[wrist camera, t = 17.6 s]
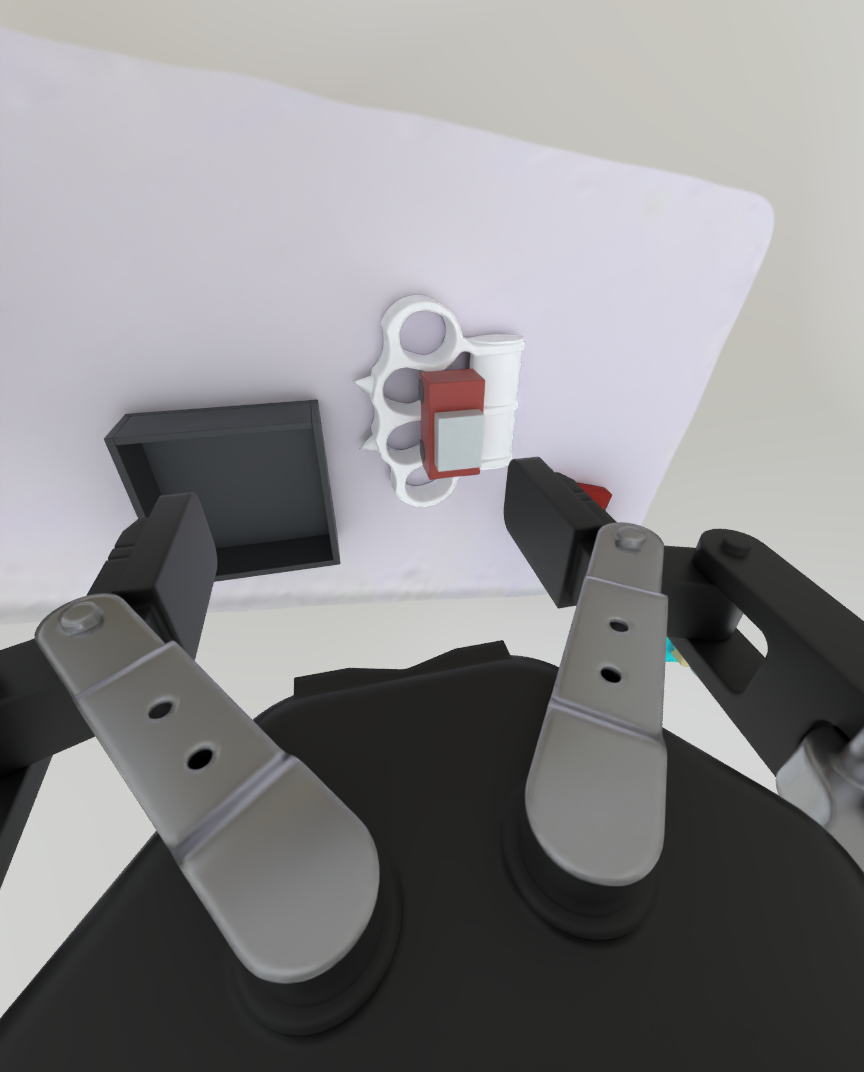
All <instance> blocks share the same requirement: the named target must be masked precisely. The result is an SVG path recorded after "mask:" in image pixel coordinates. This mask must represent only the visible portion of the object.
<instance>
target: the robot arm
mask: <svg viewBox="0 0 864 1072" xmlns="http://www.w3.org/2000/svg"><path fill="white" fill-rule="evenodd" d="M504 520H505V525H506V528H507V530H508V532H509V533H510V535H511V536H512V538H513V540H514V541H515V543H516V544H517V546H518V547H519V549H520V550H521V552H522V553H523V555H524V557H525V558H526V560H527V561H528V563H529V564H530V566H531V567H532V569H533V570H534V572H535V574H536V575H537V577H538V578H539V580H540V581H541V583H542V584H543V586H544V588H545V589H546V591H547V592H548V594H549V595H550V597H551V598H552V600H553V601H554V603H555V605H556V606H557V608H564V607H570V606H576V610H575V614H574V617H573V621H572V624H571V628H570V631H569V635H568V639H567V642H566V646H565V650H564V653H563V656H562V660H561V664H560V667H557V666H555V665H552V664H550V663H547V662H544V661H541V660H538V659H534V658H529V657H523V656H515V655H514V656H513V655H510V654H509V652H508V650H507V647H506V645H505V643H504V641H503V640H501V641H495V642H490V643H484V644H479V645H473V646H468V647H463V648H457V649H454V650H451V651H449V652H446V653H444V654H441V655H439V656H437V657H434V658H432V659H430V660H427V661H425V662H422V663H420V664H418V665H415V666H413V667H410V668H407V669H368V668H346V669H340V670H335V671H329V672H324V673H318V674H312V675H307V676H302V677H296V678H294V695H293V696H291V697H288V698H286V699H284V700H282V701H280V702H278V703H277V704H275V705H273V706H271V707H270V708H268V709H267V710H265V711H264V712H262V713H261V714H259V715H258V716H257V717H256V718H254V719H253V720H252V719H251V718H250V717H249V716H248V715H247V714H246V713H245V712H244V711H243V710H242V709H241V708H240V707H239V706H238V705H237V704H236V703H235V702H234V701H233V700H232V699H231V698H230V697H229V696H228V695H227V694H226V693H225V692H224V690H222V688H221V687H219V685H218V684H217V683H215V681H214V680H213V679H212V678H211V677H210V676H209V675H208V674H207V673H206V672H205V671H204V670H203V669H202V668H201V667H200V666H199V665H198V664H197V663H196V662H195V658H196V653H197V649H198V645H199V641H200V637H201V633H202V629H203V624H204V620H205V616H206V612H207V608H208V604H209V600H210V595H211V591H212V587H213V583H214V579H215V575H216V570H217V553H216V548H215V544H214V541H213V538H212V535H211V532H210V529H209V526H208V523H207V520H206V517H205V514H204V511H203V508H202V505H201V502H200V500H199V498H198V496H197V494H196V493H194V492H192V493H182V494H173V495H163V496H160V497H159V498H158V500H157V502H156V504H155V506H154V508H153V510H152V512H151V514H150V515H149V517H148V518H140V519H138V520H137V521H135V522H134V523H133V524H132V525H130V526H129V527H128V528H127V529H125V530H124V531H123V532H122V534H121V535H120V537H119V539H118V541H117V542H116V544H115V549H113V550H112V551H111V553H110V555H109V557H108V561H106V562H105V564H104V565H103V567H102V569H101V571H100V573H99V574H98V576H97V578H96V580H95V581H94V583H93V585H92V587H91V588H90V590H89V592H88V594H87V596H85V597H81V598H78V599H75V600H73V601H71V602H68V603H66V604H64V605H62V606H61V607H59V608H57V609H56V610H54V611H53V612H52V613H50V614H49V615H48V616H47V617H46V618H44V619H43V621H42V622H41V623H40V624H39V626H38V627H37V629H36V632H35V638H34V639H32V640H29V641H26V642H24V643H20V644H17V645H14V646H12V647H9V648H6V649H3V650H0V888H1V886H2V883H3V881H4V878H5V875H6V873H7V870H8V868H9V865H10V863H11V860H12V857H13V855H14V853H15V850H16V847H17V845H18V842H19V840H20V837H21V835H22V832H23V829H24V827H25V825H26V822H27V819H28V817H29V814H30V812H31V809H32V806H33V804H34V802H35V799H36V797H37V794H38V791H39V788H40V786H41V784H42V781H43V779H44V776H45V774H46V771H47V769H48V766H49V763H50V761H51V758H52V756H53V754H56V753H58V752H60V751H63V750H65V749H67V748H70V747H72V746H74V745H77V744H79V743H81V742H84V741H86V740H88V739H90V738H93V737H95V736H96V738H97V739H98V741H99V742H100V744H101V745H102V747H103V748H104V750H105V752H106V753H107V755H108V756H109V758H110V759H111V761H112V762H113V764H114V765H115V767H116V768H117V770H118V771H119V773H120V775H121V776H122V778H123V779H124V781H125V782H126V784H127V785H128V787H129V789H130V790H131V792H132V793H133V795H134V796H135V798H136V799H137V801H138V802H139V804H140V805H141V807H142V809H143V810H144V811H145V813H146V815H147V816H148V818H149V819H150V821H151V822H152V824H153V825H154V827H155V828H156V830H157V831H156V832H155V833H154V834H153V835H152V836H151V838H150V839H149V840H148V841H147V842H146V844H145V845H144V846H143V847H142V848H141V850H140V851H139V852H138V853H137V855H136V856H135V857H134V858H133V859H132V860H131V862H130V863H129V864H128V865H127V867H126V868H125V869H124V870H123V871H122V873H121V874H120V875H119V876H118V877H117V879H116V880H115V881H114V882H113V883H112V885H111V886H110V887H109V888H108V889H107V891H106V892H105V893H104V894H103V895H102V897H101V898H100V899H99V900H98V901H97V903H96V904H95V905H94V906H93V908H92V909H91V910H90V911H89V912H88V913H87V915H86V916H85V917H84V918H83V919H82V921H81V922H80V923H79V924H78V925H77V927H76V928H75V929H74V931H72V933H71V934H70V935H69V937H68V938H67V939H66V940H65V941H64V942H63V944H62V945H61V946H60V947H59V948H58V949H57V951H56V952H55V953H54V954H53V955H52V957H51V958H50V959H49V960H48V961H47V963H46V964H45V965H44V966H43V967H42V969H41V970H40V971H39V972H38V974H37V975H36V976H35V977H34V978H33V980H32V981H31V982H30V983H29V985H27V987H26V988H25V989H24V990H23V991H22V993H21V994H20V995H19V996H18V997H17V999H16V1000H15V1001H14V1002H13V1003H12V1005H11V1006H10V1007H9V1008H8V1010H7V1011H6V1012H5V1013H4V1014H3V1016H2V1017H1V1018H0V1072H864V621H863V620H861V619H860V618H859V617H858V616H856V615H855V614H854V613H852V612H851V611H850V610H849V609H847V608H846V607H845V606H843V605H842V604H841V603H840V602H838V601H837V600H836V599H834V598H833V597H832V596H831V595H829V594H828V593H827V592H825V591H824V590H823V589H821V588H820V587H819V586H818V585H816V584H815V583H814V582H813V581H811V580H810V579H809V578H807V577H806V576H805V575H804V574H802V573H801V572H800V571H798V570H797V569H796V568H794V567H793V566H792V565H791V564H789V563H788V562H787V561H786V560H784V559H783V558H782V557H780V556H779V555H778V554H776V553H775V552H774V551H773V550H771V549H770V548H769V547H768V546H766V545H765V544H764V543H762V542H760V541H759V540H758V539H756V538H754V537H752V536H750V535H747V534H744V533H741V532H738V531H734V530H728V529H712V530H708V531H705V532H704V533H703V534H702V535H701V537H700V539H699V542H698V544H697V547H696V548H689V547H675V546H664V543H663V541H662V540H661V538H660V537H659V536H658V535H657V534H655V533H654V532H652V531H651V530H649V529H647V528H645V527H642V526H639V525H635V524H631V523H622V522H620V523H617V522H616V521H615V520H614V519H613V518H612V517H611V516H610V515H609V514H608V513H607V512H606V511H605V510H604V509H603V508H602V507H601V506H600V505H599V504H598V503H597V502H596V501H595V500H592V497H591V496H590V495H589V494H588V493H587V492H584V489H582V488H581V487H580V486H579V485H578V484H577V483H576V482H575V481H574V480H573V479H571V478H569V477H567V476H565V475H563V474H561V473H559V472H554V471H553V470H552V469H551V468H550V467H549V466H548V465H547V464H546V463H545V462H544V461H543V460H542V459H541V458H540V457H531V458H522V459H513V460H511V461H510V463H509V466H508V472H507V482H506V492H505V502H504ZM743 613H744V614H745V615H746V616H747V617H748V618H749V619H750V620H751V621H752V622H753V623H754V624H755V625H756V626H757V627H758V628H759V629H760V630H761V631H762V633H763V634H764V636H765V638H766V641H767V645H768V653H767V655H766V657H764V656H763V655H762V654H761V653H760V652H759V651H758V650H757V649H756V648H755V647H754V646H753V645H752V644H751V643H750V642H749V641H748V639H747V638H746V637H744V635H743V634H742V633H741V632H740V631H739V630H738V629H737V628H736V626H737V625H738V623H739V621H740V619H741V617H742V615H743ZM667 637H668V639H669V640H670V641H671V643H672V644H673V645H674V647H675V648H676V649H677V650H678V652H679V653H680V654H681V656H682V657H683V658H684V659H685V661H686V662H687V663H688V665H689V666H690V667H691V668H692V670H693V671H694V672H695V674H696V675H697V676H698V678H699V679H700V680H701V681H702V682H703V684H704V685H705V686H706V688H707V689H708V690H709V692H710V693H711V694H712V696H713V697H714V698H715V699H716V700H717V702H718V703H719V704H720V706H721V707H722V708H723V710H724V711H725V712H726V714H727V715H728V716H729V718H730V719H731V720H732V721H733V723H734V724H735V725H736V727H737V728H738V729H739V730H740V732H741V733H742V734H743V736H745V738H746V739H747V741H748V742H749V743H750V745H751V746H752V747H753V748H754V750H755V751H756V752H757V754H758V755H759V756H760V758H761V759H762V760H763V761H764V762H765V764H766V765H767V766H768V768H769V769H770V770H771V772H772V773H773V774H774V775H775V777H776V787H777V791H778V794H779V795H777V794H775V793H774V792H772V791H770V790H768V789H767V788H765V787H764V786H762V785H760V784H758V783H757V782H755V781H753V780H751V779H750V778H748V777H746V776H745V775H743V774H741V773H740V772H738V771H736V770H735V769H733V768H731V767H729V766H728V765H726V764H724V763H723V762H721V761H719V760H717V759H716V758H714V757H712V756H711V755H709V754H707V753H705V752H704V751H702V750H700V749H699V748H697V747H695V746H693V745H692V744H690V743H688V742H686V741H685V740H683V739H682V738H680V737H678V736H676V735H675V734H673V733H671V732H670V731H668V730H666V729H665V728H663V727H662V719H663V698H664V679H665V658H666V638H667Z"/></svg>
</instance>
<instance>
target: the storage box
mask: <svg viewBox="0 0 864 1072" xmlns="http://www.w3.org/2000/svg"><path fill="white" fill-rule="evenodd" d="M104 441H105V443H106V445H107V448H108V450H109V452H110V455H111V457H112V459H113V461H114V464H115V466H116V468H117V471H118V473H119V475H120V478H121V480H122V482H123V484H124V487H125V489H126V491H127V494H128V496H129V498H130V501H131V503H132V505H133V507H134V510H135V512H136V514H137V517H138V519H140V518H148V517H149V515H150V514H151V512H152V510H153V508H154V506H155V504H156V502H157V500H158V498H159V497H160V496H163V495H173V494H182V493H192V492H194V493H196V494H197V496H198V498H199V500H200V502H201V505H202V508H203V511H204V514H205V517H206V520H207V523H208V526H209V529H210V532H211V535H212V538H213V541H214V544H215V548H216V553H217V570H216V575H215V579H214V582H216V581H223V580H230V579H237V578H245V577H252V576H259V575H266V574H273V573H281V572H288V571H295V570H302V569H309V568H317V567H324V566H331V565H338V564H340V556H339V546H338V537H337V529H336V523H335V516H334V509H333V502H332V495H331V488H330V481H329V474H328V467H327V460H326V454H325V447H324V440H323V433H322V426H321V419H320V412H319V405H318V400H310V401H297V402H283V403H270V404H256V405H243V406H229V407H216V408H203V409H189V410H176V411H162V412H149V413H135V414H125V415H124V416H123V418H122V419H121V420H120V421H119V422H118V423H117V424H116V426H115V427H114V428H113V429H112V430H111V431H110V432H109V434H108V435H107V436H106V437H105V438H104Z"/></svg>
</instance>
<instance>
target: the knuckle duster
mask: <svg viewBox="0 0 864 1072" xmlns="http://www.w3.org/2000/svg"><path fill="white" fill-rule="evenodd" d="M422 310H425V311H430V312H434V313H437V314H440V315H441V316H442V317H443V319H444V322H445V325H446V335H445V339H444V341H443V343H442V345H441V346H440V347H439V348H438V349H437V350H436V351H435V352H433V353H431V354H427V355H419V354H415V353H412V352H408V351H406V350H404V349H403V348H402V347H401V344H400V337H399V336H400V329H401V326H402V324H403V322H404V321H405V320H406V318H407V317H408V316H410V315H411V314H413V313H414V312H417V311H422ZM380 325H381V327H382V331H383V337H384V344H383V350H382V353H381V356H380V358H379V360H378V362H377V363H376V364H375V365H374V367H373V368H372V370H371V376H369V377H365V378H362V379H359V380H356V381H353V383H355V384H356V385H357V386H359V387H360V388H361V389H363V390H364V391H365V392H367V393H368V394H369V396H370V399H371V402H372V403H373V405H374V409H375V414H374V420H373V423H372V425H371V430H372V433H373V435H372V436H371V437H370V438H369V439H368V440H367V441H366V442H365V443H364V444H363V445H362V446H361V447H360V448H359V449H364V450H371V451H378V452H379V453H380V456H381V458H382V460H384V461H385V462H386V463H387V464H388V465H389V466H390V467H391V474H390V481H391V484H392V487H393V490H394V492H395V494H396V495H397V497H398V498H399V499H400V500H402V501H403V502H404V503H406V504H408V505H411V506H415V507H428V506H432V505H435V504H437V503H439V502H441V501H443V500H444V499H445V498H447V497H448V496H449V495H450V493H451V492H452V491H453V489H454V487H455V485H456V483H457V480H458V479H459V478H460V477H461V476H459V477H450V478H441V479H436V480H434V481H432V482H430V483H427V484H425V485H422V486H411V485H408V484H407V483H405V482H406V479H407V477H408V475H409V474H410V473H411V472H412V471H413V470H414V469H416V468H418V467H421V466H423V464H422V459H421V455H420V444H418V445H416V446H414V447H411V448H408V449H405V450H396V449H393V448H391V447H389V446H388V445H387V439H388V437H389V435H390V433H391V432H392V431H393V430H394V429H395V428H397V427H399V426H401V425H403V424H406V423H409V422H412V421H421V401H420V399H419V400H417V401H415V402H413V403H401V402H396V401H392V400H390V399H388V398H387V397H385V396H384V394H383V387H384V383H385V381H386V379H387V378H388V376H389V375H390V374H391V373H392V372H394V371H395V370H398V369H400V368H412V369H416V370H420V371H423V372H430V371H444V370H445V369H446V368H447V367H448V366H449V365H450V364H452V363H453V362H454V360H455V359H456V358H457V356H458V355H459V354H460V353H461V352H464V351H467V352H469V353H470V369H474V370H475V371H476V372H477V373H478V374H479V375H481V376H482V377H483V378H484V379H485V394H484V411H483V414H484V430H483V446H482V462H481V467H480V470H489V469H497V468H502V467H505V466H507V465H509V463H510V461H511V460H512V458H513V455H512V453H511V450H512V441H513V432H514V422H515V413H516V409H518V401H517V394H518V385H519V375H520V366H521V357H522V350H524V347H525V341H524V340H523V338H524V337H523V336H519V335H510V334H490V335H481V336H475V337H469V338H465V337H463V335H462V331H461V327H460V325H459V323H458V321H457V319H456V317H455V316H454V315H453V313H452V312H451V311H450V310H449V309H448V308H446V307H445V306H443V305H442V304H440V303H439V302H437V301H436V300H434V299H432V298H430V297H427V296H423V295H411V296H407V297H404V298H402V299H400V300H398V301H397V302H395V303H394V304H393V305H392V306H391V307H390V308H389V309H388V310H387V311H386V313H385V315H384V316H383V318H382V321H381V324H380Z"/></svg>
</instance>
